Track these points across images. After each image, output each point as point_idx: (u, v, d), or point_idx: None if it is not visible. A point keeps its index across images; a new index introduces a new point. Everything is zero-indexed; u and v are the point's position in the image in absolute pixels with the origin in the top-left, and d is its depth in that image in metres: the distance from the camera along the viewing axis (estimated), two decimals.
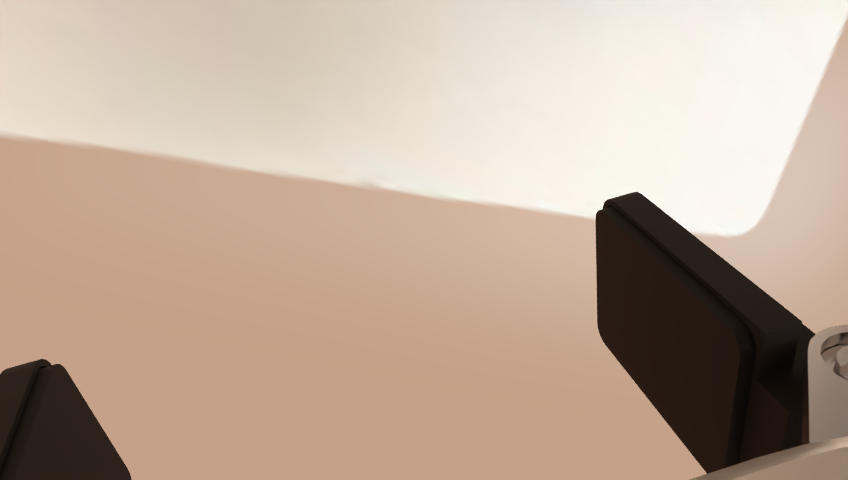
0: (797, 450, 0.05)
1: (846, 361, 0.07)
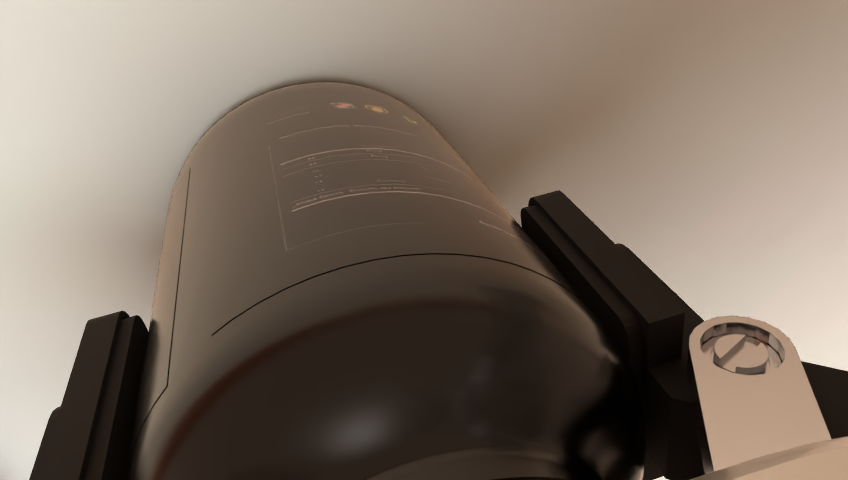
0: (797, 450, 0.05)
1: (724, 352, 0.08)
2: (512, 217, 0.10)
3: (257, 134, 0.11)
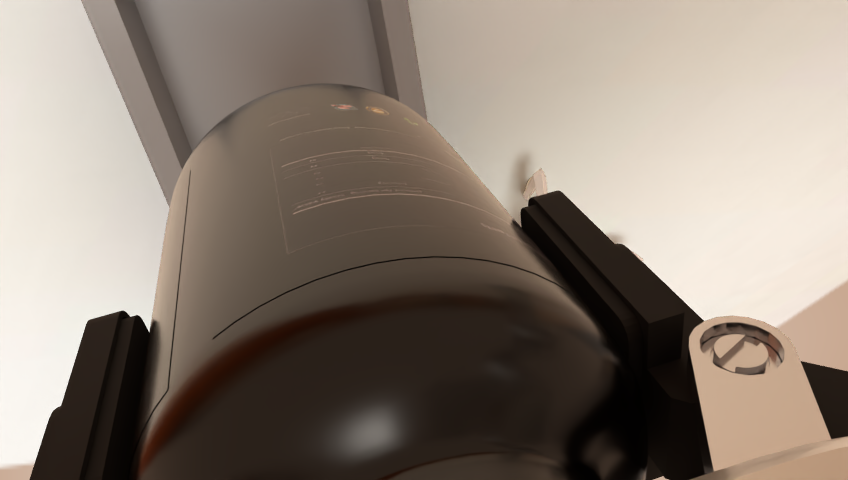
0: (797, 450, 0.05)
1: (724, 352, 0.08)
2: (513, 219, 0.10)
3: (259, 136, 0.11)
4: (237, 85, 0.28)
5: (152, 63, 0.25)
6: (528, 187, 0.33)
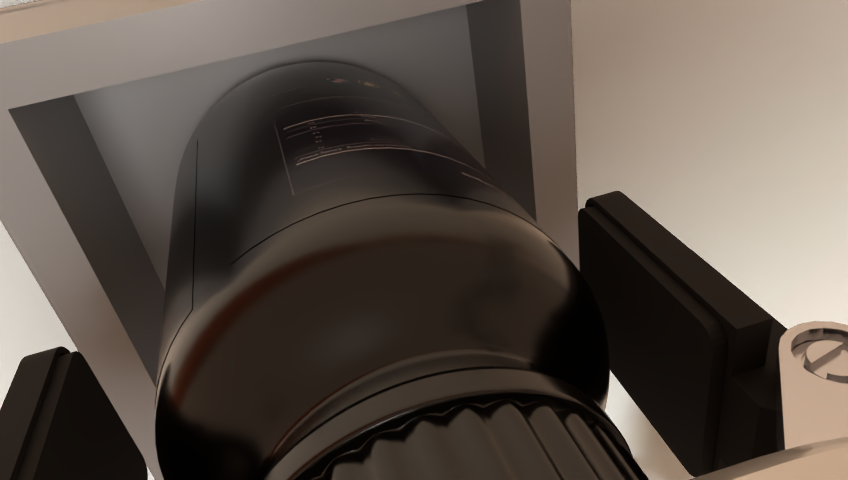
0: (797, 450, 0.05)
1: (815, 357, 0.08)
2: None
3: (261, 105, 0.12)
4: None
5: (107, 208, 0.14)
6: None
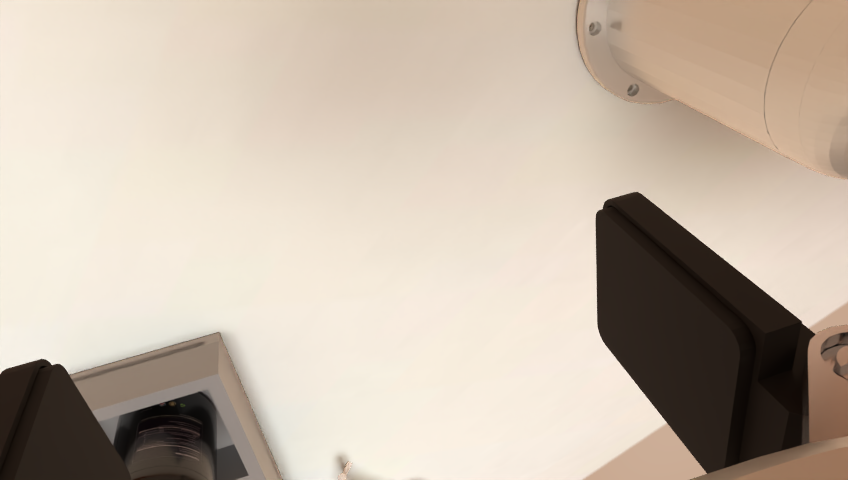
0: (797, 450, 0.05)
1: (846, 361, 0.07)
2: (198, 441, 0.43)
3: (137, 416, 0.43)
4: None
5: None
6: None
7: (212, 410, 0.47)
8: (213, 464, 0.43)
